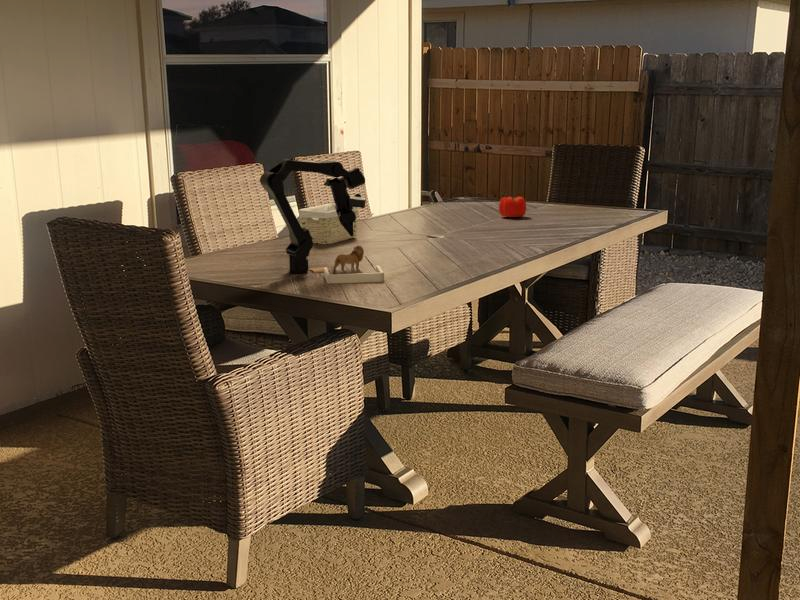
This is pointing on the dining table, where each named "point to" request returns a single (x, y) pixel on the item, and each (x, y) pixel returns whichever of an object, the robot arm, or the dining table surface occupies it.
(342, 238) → the storage basket
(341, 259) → the lion figurine
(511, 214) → the tomato
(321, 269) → the terracotta tile
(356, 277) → the frame
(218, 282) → the dining table surface
